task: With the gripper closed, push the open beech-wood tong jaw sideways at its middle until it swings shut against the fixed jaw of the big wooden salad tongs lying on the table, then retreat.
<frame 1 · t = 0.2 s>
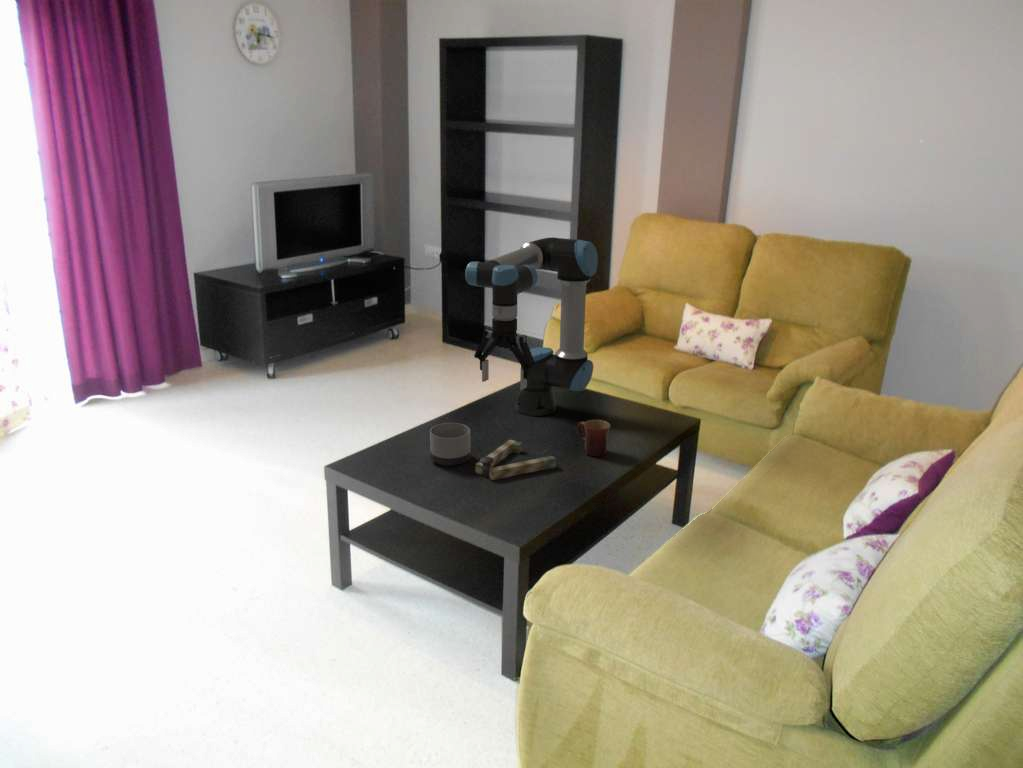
hand: (504, 384, 257), 28 cm above the table, fingers open, 13 cm apart
planter: (450, 460, 271), on the table
mug: (591, 452, 278), on the table
tongs jaw: (522, 467, 261), point 2 cm above the table, hinge at 35.0°
tongs fixed: (486, 475, 260), on the table
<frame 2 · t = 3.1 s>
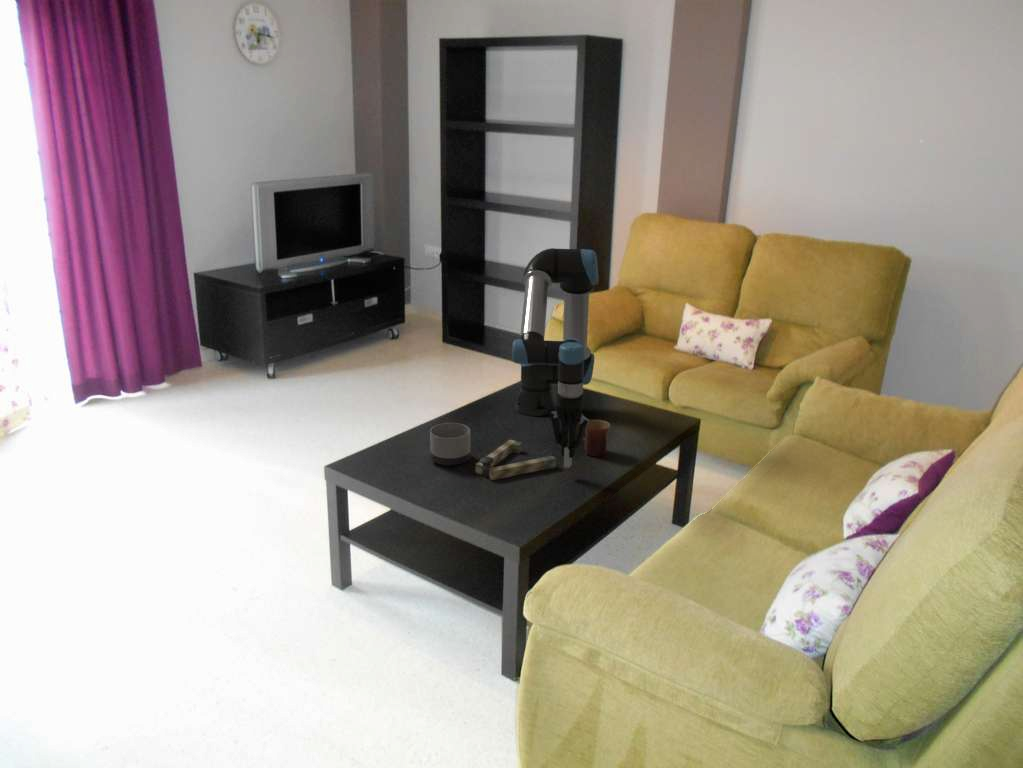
hand: (567, 465, 258), 4 cm above the table, fingers closed
nothing on the table moved.
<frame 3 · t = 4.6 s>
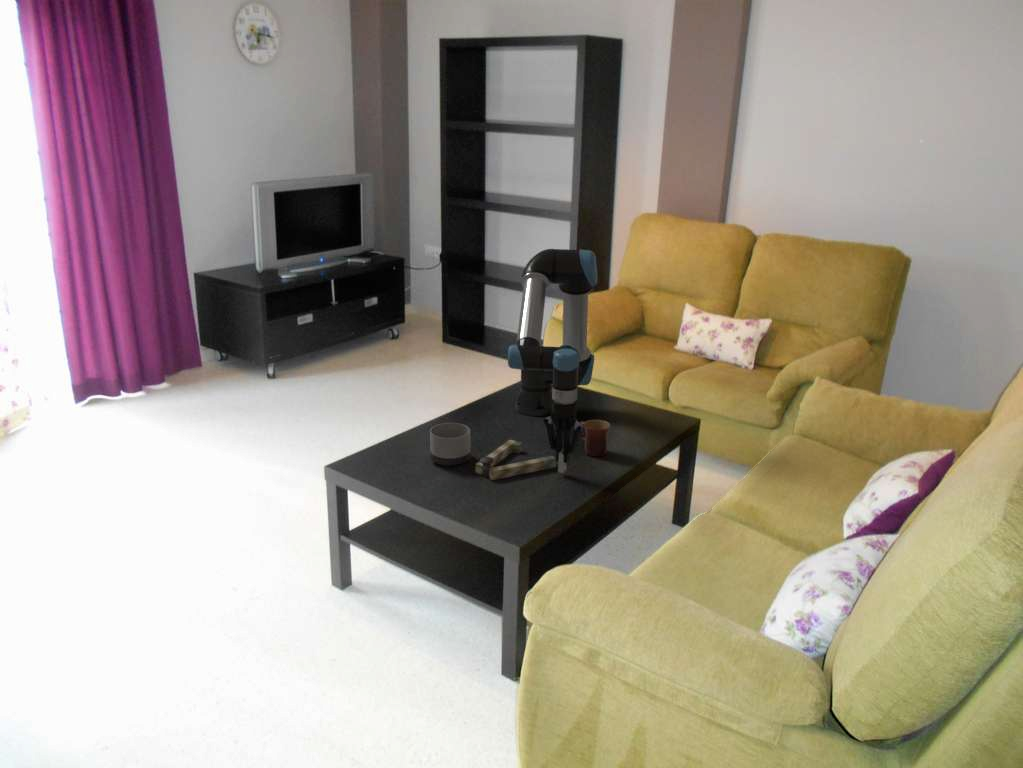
hand: (562, 470, 260), 2 cm above the table, fingers closed
nothing on the table moved.
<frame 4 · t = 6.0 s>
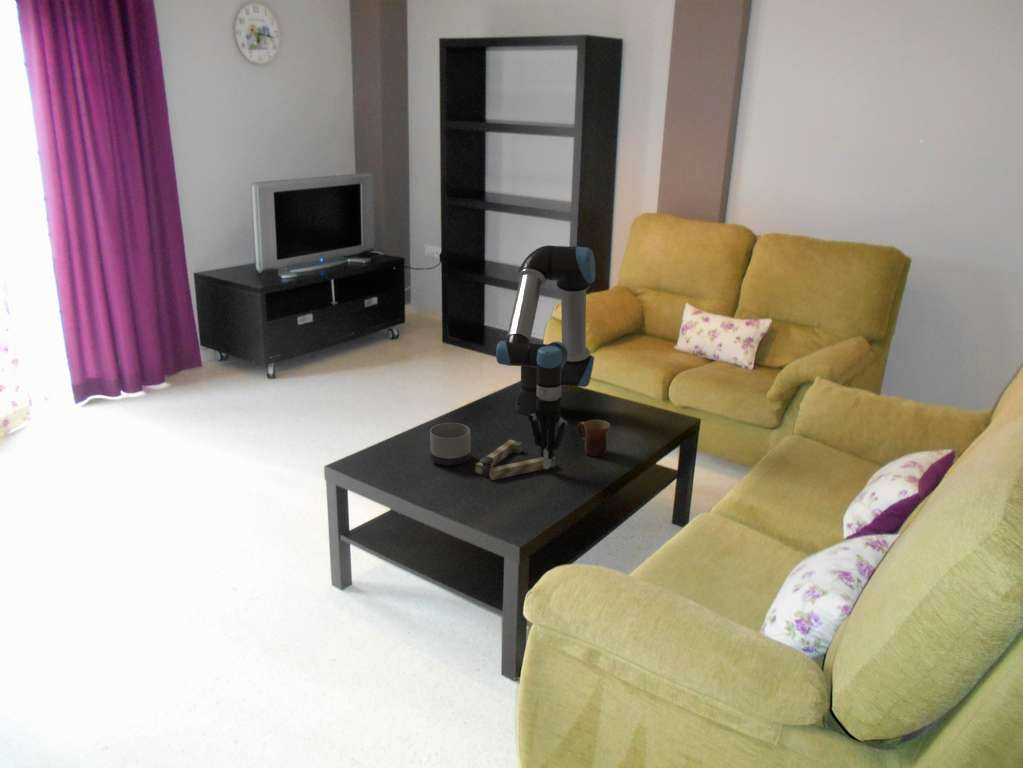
hand: (547, 467, 263), 2 cm above the table, fingers closed
tongs jaw: (522, 467, 262), point 2 cm above the table, hinge at 33.8°, touching gripper
everything else where it was.
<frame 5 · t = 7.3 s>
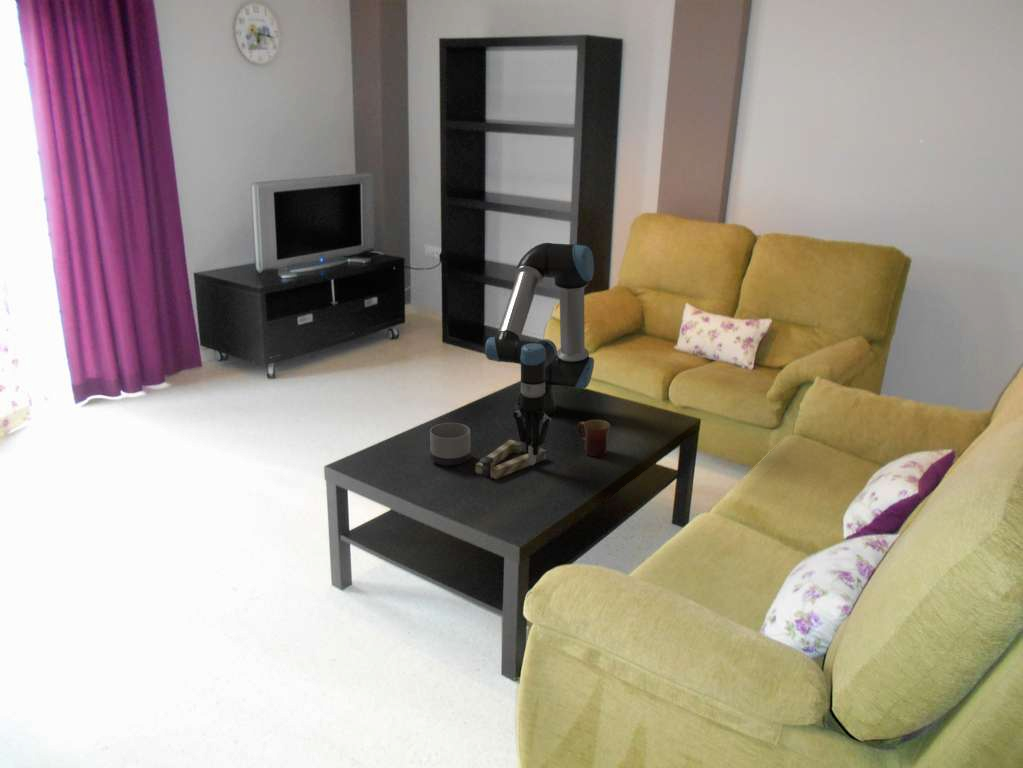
hand: (532, 463, 265), 1 cm above the table, fingers closed
tongs jaw: (518, 463, 264), point 2 cm above the table, hinge at 17.8°, touching gripper
everything else where it was.
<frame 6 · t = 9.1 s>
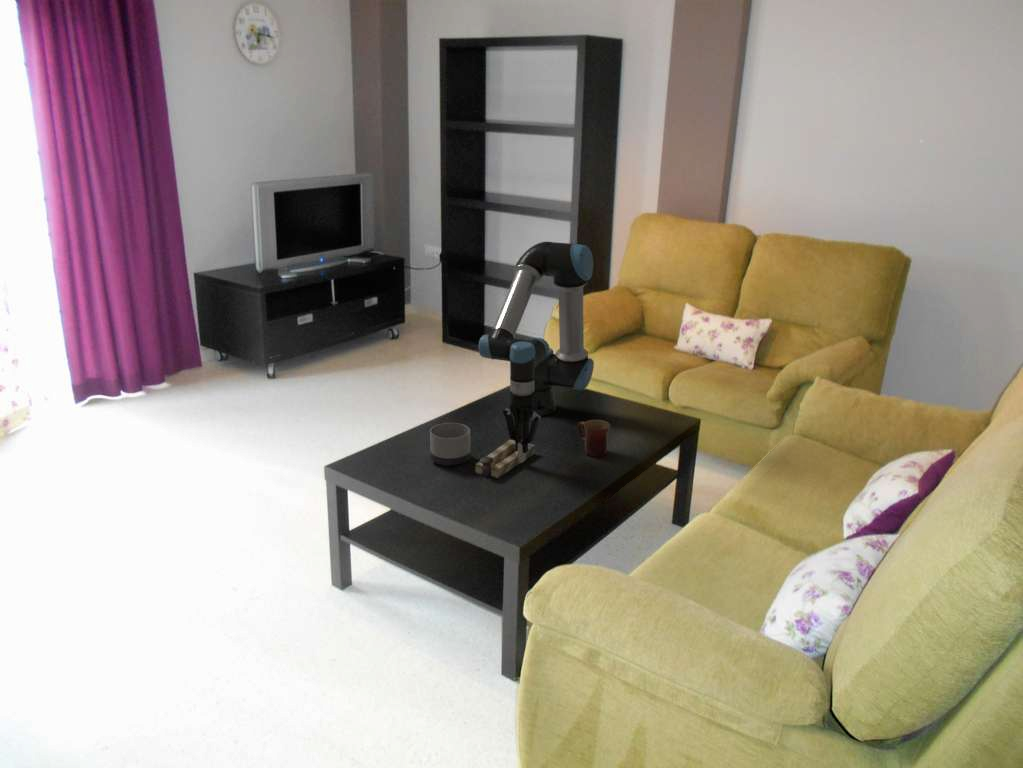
hand: (521, 460, 267), 1 cm above the table, fingers closed
tongs jaw: (513, 460, 267), point 2 cm above the table, hinge at 3.7°, touching gripper
everything else where it was.
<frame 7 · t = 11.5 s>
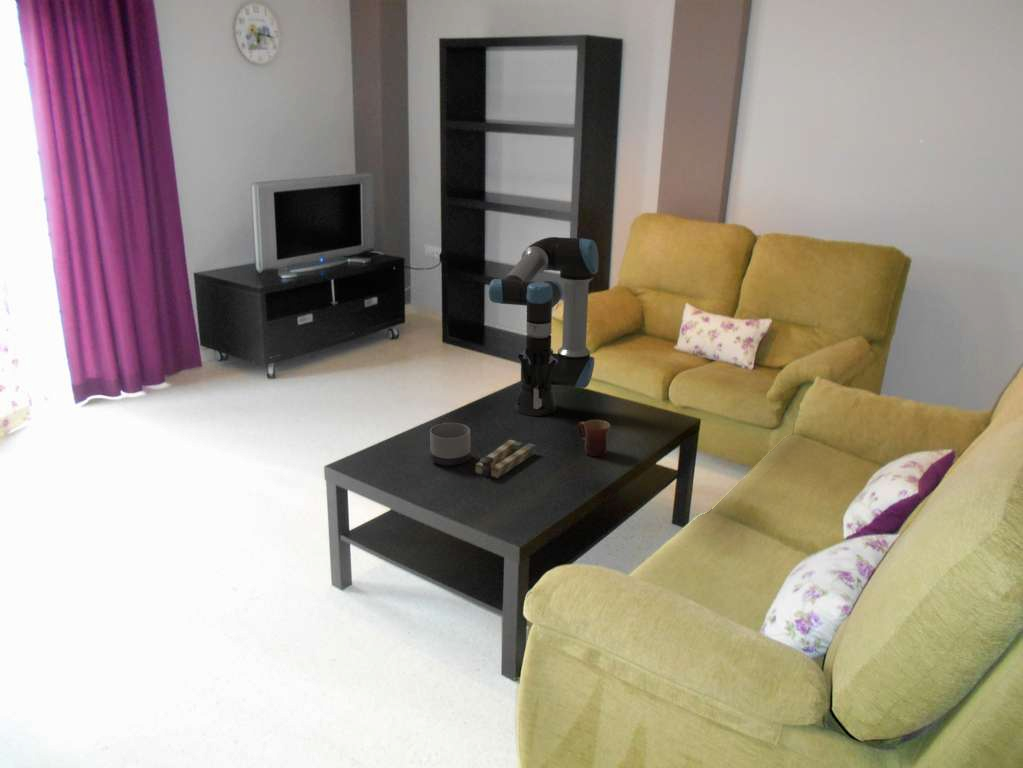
hand: (537, 407, 259), 20 cm above the table, fingers closed
tongs jaw: (513, 460, 267), point 2 cm above the table, hinge at 3.7°
everything else where it was.
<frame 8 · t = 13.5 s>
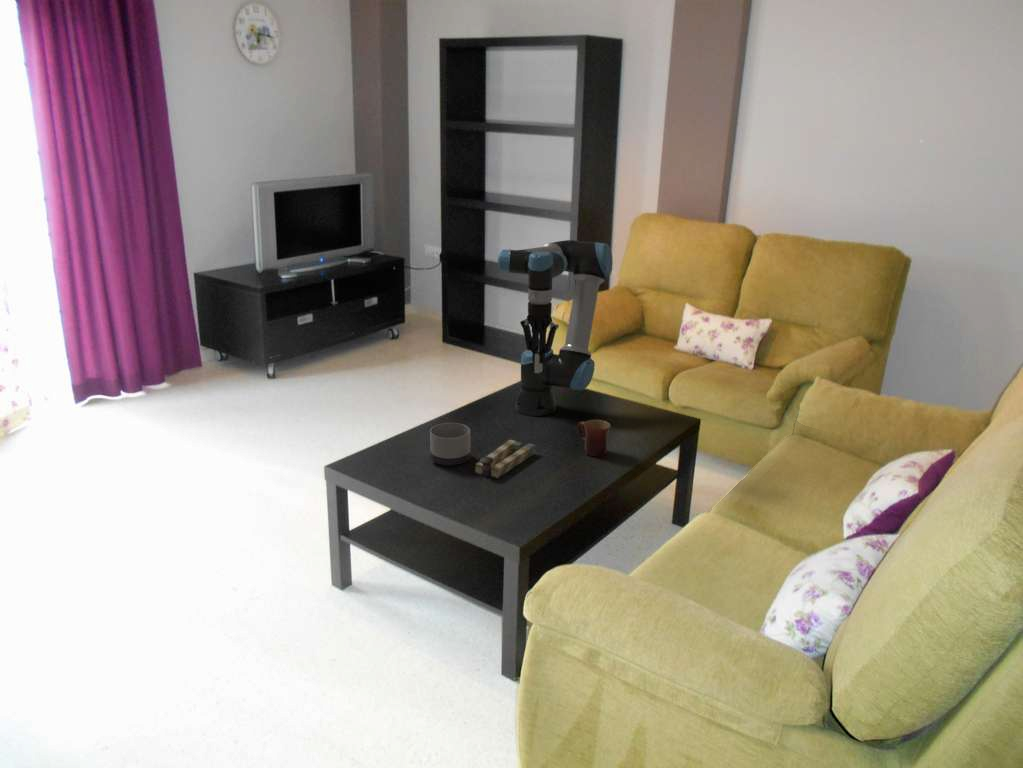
hand: (538, 371, 273), 26 cm above the table, fingers closed
nothing on the table moved.
at the end: tongs jaw at +4° (first picture: +35°); tongs jaw touching nothing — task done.
